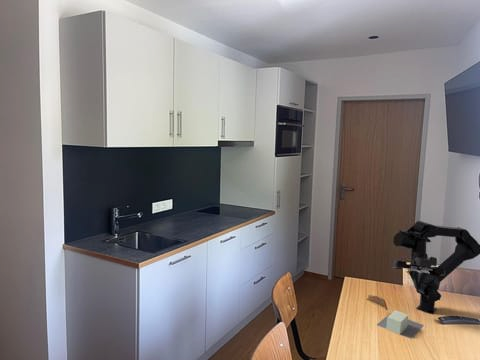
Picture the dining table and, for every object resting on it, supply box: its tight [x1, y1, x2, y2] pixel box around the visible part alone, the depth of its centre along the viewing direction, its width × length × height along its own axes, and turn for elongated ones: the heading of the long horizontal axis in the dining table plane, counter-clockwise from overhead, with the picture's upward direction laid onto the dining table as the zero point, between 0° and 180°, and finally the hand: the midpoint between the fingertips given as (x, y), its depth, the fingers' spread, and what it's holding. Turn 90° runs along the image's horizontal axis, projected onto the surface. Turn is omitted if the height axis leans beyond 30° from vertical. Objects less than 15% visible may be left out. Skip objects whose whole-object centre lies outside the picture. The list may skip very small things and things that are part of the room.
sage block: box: [386, 309, 409, 335], centre depth 134 cm, size 5×5×8 cm
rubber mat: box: [376, 312, 425, 340], centre depth 136 cm, size 14×13×1 cm
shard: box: [365, 294, 387, 310], centre depth 155 cm, size 11×8×2 cm
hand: (417, 289), depth 140 cm, fingers closed
